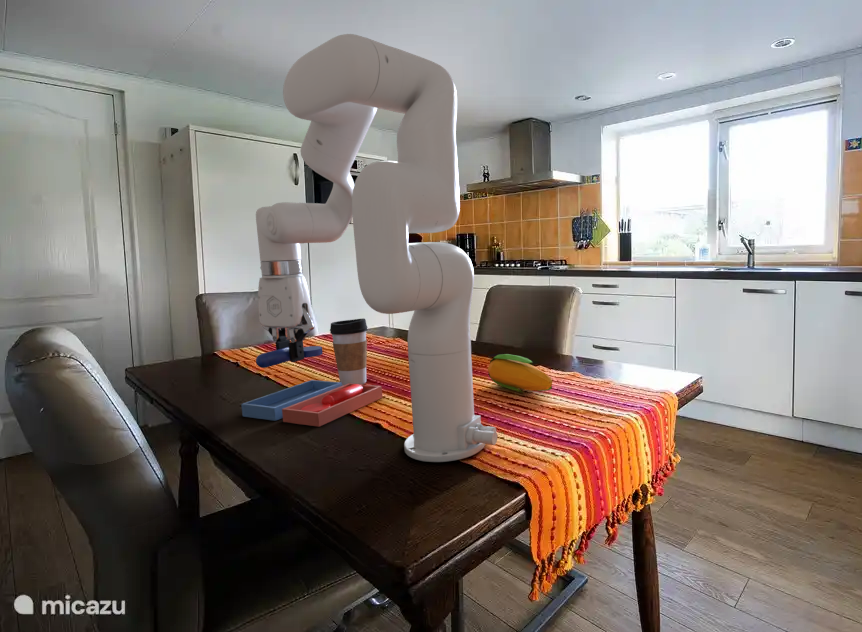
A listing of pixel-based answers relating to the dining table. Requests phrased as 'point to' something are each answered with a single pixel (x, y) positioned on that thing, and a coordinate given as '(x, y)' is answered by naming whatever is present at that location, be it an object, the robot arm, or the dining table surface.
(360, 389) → the red spoon
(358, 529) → the dining table surface
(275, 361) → the blue spoon
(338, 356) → the coffee cup
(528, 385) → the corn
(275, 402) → the blue tray
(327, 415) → the rose tray
